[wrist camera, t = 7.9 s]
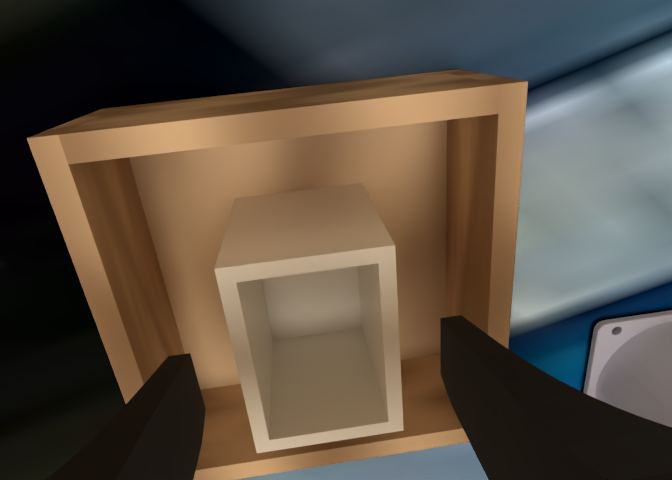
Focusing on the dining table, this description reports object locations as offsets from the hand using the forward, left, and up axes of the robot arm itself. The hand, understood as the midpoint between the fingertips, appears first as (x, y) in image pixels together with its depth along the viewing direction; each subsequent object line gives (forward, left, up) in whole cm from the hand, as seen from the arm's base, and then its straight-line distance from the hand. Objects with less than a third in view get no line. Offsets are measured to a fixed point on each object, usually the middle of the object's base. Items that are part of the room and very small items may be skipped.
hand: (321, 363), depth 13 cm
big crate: (0, 0, -8) cm, 8 cm away
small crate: (0, 0, -7) cm, 7 cm away
